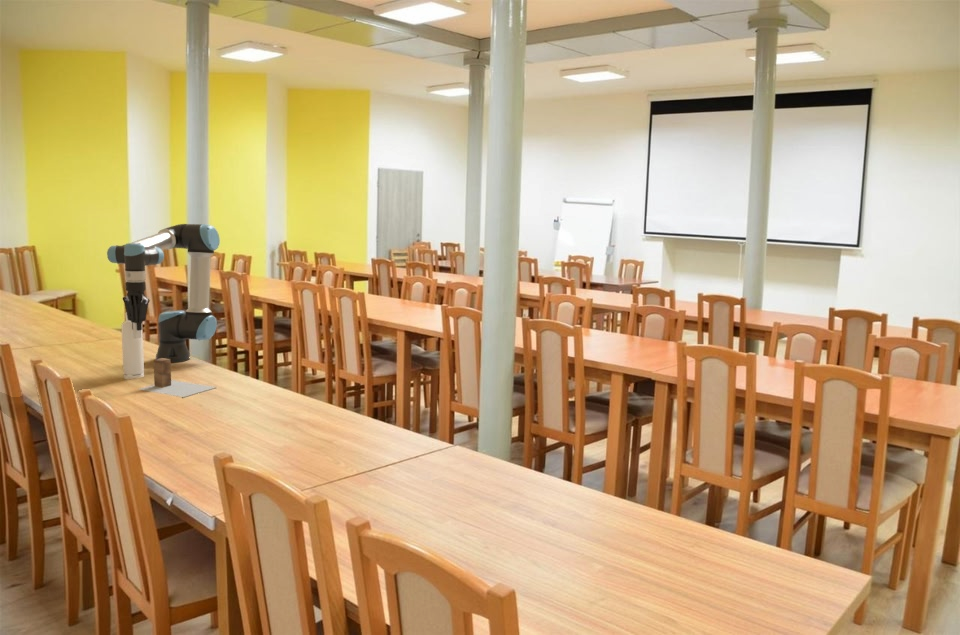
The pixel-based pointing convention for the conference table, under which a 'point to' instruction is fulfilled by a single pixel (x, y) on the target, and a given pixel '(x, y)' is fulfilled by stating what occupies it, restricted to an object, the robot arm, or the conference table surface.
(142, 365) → the bottle
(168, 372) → the walnut block
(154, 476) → the conference table surface
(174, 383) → the felt mat
